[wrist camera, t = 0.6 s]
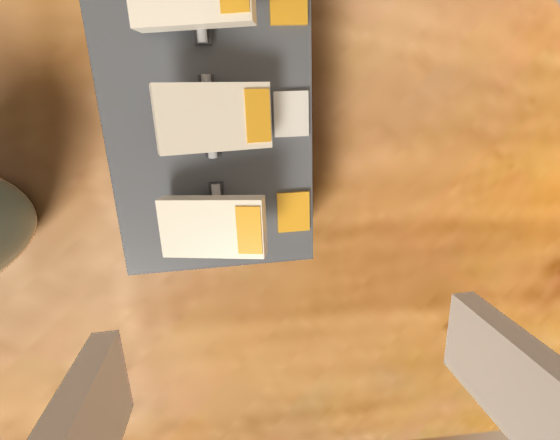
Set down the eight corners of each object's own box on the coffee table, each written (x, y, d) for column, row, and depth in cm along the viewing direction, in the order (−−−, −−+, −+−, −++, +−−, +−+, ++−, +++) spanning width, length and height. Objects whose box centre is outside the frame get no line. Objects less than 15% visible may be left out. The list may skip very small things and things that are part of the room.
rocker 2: (157, 154, 22) (160, 156, 21) (148, 84, 21) (150, 82, 19) (264, 145, 24) (273, 147, 23) (262, 83, 23) (270, 81, 22)
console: (145, 246, 32) (123, 283, 25) (100, -41, 26) (53, -97, 19) (298, 233, 34) (316, 265, 27) (293, -38, 27) (315, -88, 20)
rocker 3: (171, 249, 26) (162, 257, 24) (164, 195, 25) (154, 200, 23) (267, 251, 25) (264, 259, 23) (265, 194, 24) (261, 200, 22)
